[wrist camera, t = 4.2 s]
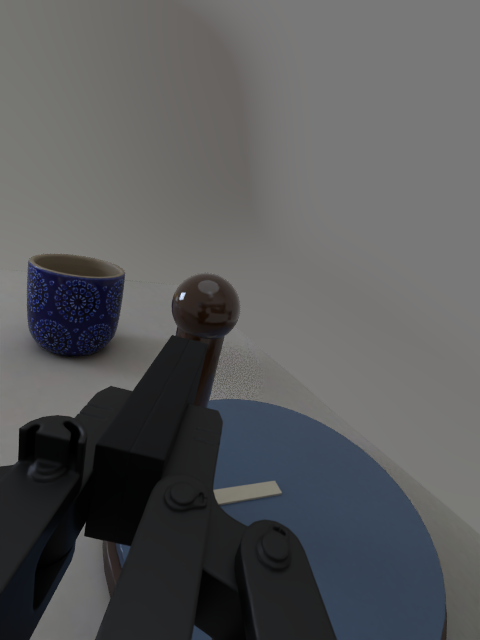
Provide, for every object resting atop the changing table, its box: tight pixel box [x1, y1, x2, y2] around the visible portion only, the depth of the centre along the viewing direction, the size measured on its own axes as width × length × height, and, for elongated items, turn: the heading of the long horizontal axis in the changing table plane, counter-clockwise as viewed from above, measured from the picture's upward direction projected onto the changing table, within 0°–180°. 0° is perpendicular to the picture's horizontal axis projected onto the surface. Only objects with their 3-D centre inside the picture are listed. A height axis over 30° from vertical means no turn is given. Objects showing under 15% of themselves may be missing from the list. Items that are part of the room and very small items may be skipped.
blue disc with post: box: [116, 273, 446, 640], centre depth 23 cm, size 24×24×17 cm
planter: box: [27, 254, 125, 356], centre depth 42 cm, size 11×11×11 cm
